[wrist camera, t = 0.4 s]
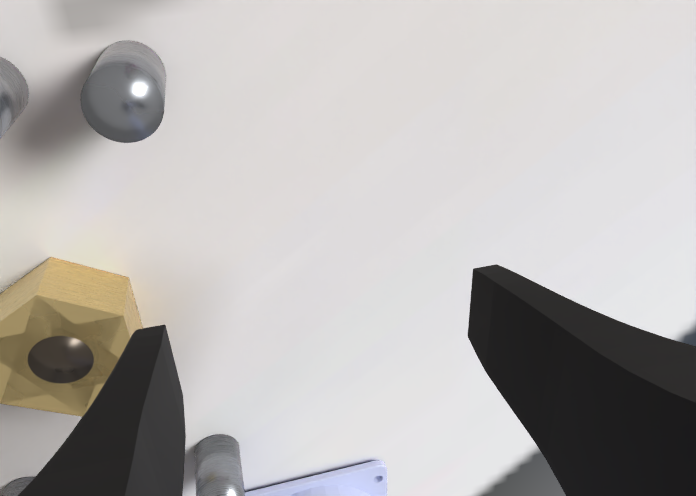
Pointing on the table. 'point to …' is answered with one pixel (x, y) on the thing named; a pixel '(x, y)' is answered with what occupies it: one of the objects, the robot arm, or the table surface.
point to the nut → (63, 335)
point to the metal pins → (128, 126)
